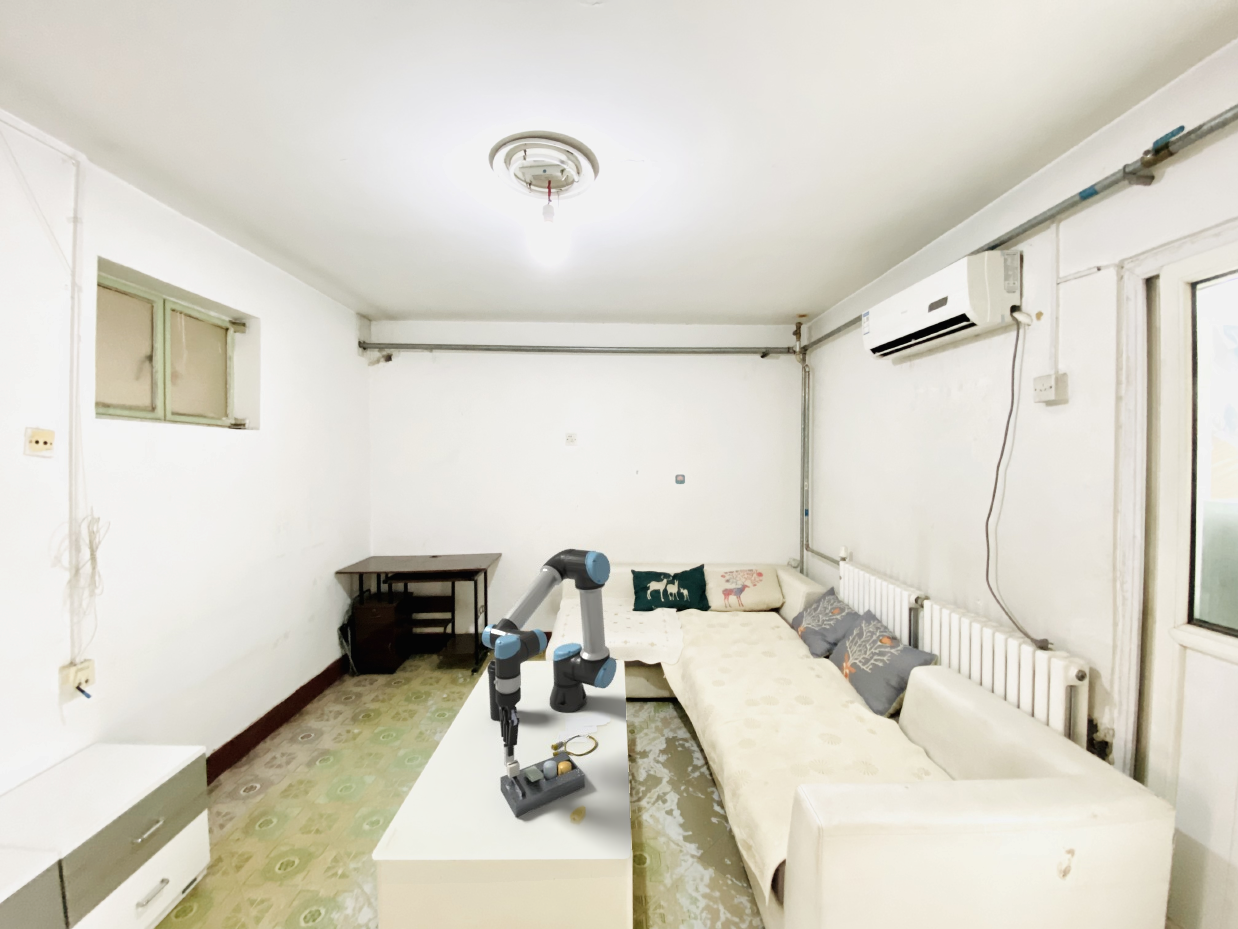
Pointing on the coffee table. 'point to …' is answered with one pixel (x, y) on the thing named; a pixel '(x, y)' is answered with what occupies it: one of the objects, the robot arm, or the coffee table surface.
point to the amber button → (564, 767)
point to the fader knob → (513, 768)
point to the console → (540, 786)
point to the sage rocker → (533, 773)
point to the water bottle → (493, 692)
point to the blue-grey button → (550, 770)
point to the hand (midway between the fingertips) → (509, 764)
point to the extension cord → (559, 744)
